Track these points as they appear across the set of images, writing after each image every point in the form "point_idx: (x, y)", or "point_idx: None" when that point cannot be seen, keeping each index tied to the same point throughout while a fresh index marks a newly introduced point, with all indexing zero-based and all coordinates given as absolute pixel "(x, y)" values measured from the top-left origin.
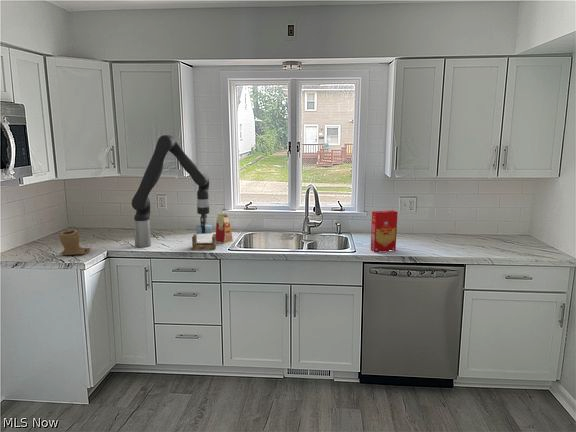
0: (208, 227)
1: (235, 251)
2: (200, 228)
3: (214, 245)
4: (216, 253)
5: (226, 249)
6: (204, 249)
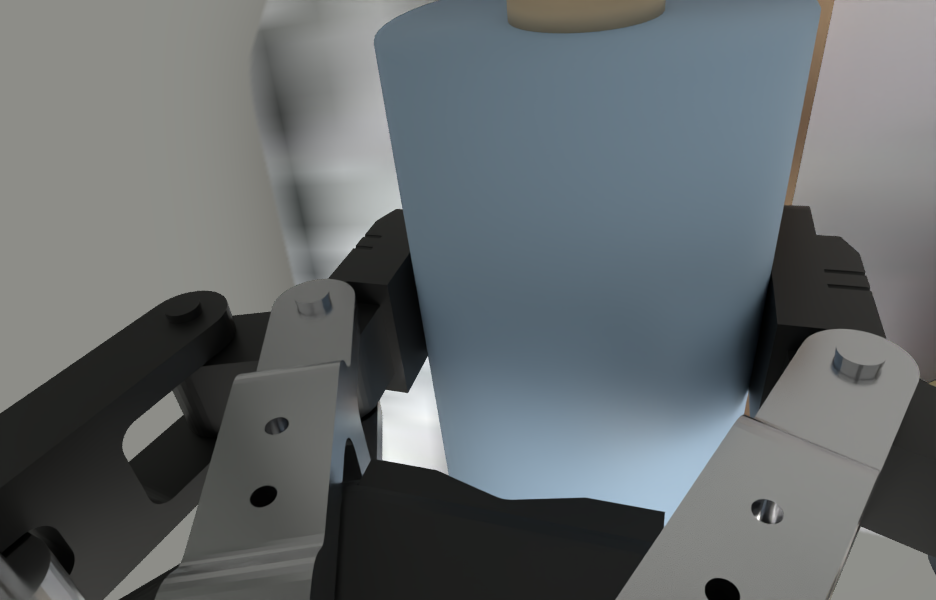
0: (450, 469)
1: (427, 458)
2: (405, 218)
3: None
4: (309, 271)
5: None
6: None
